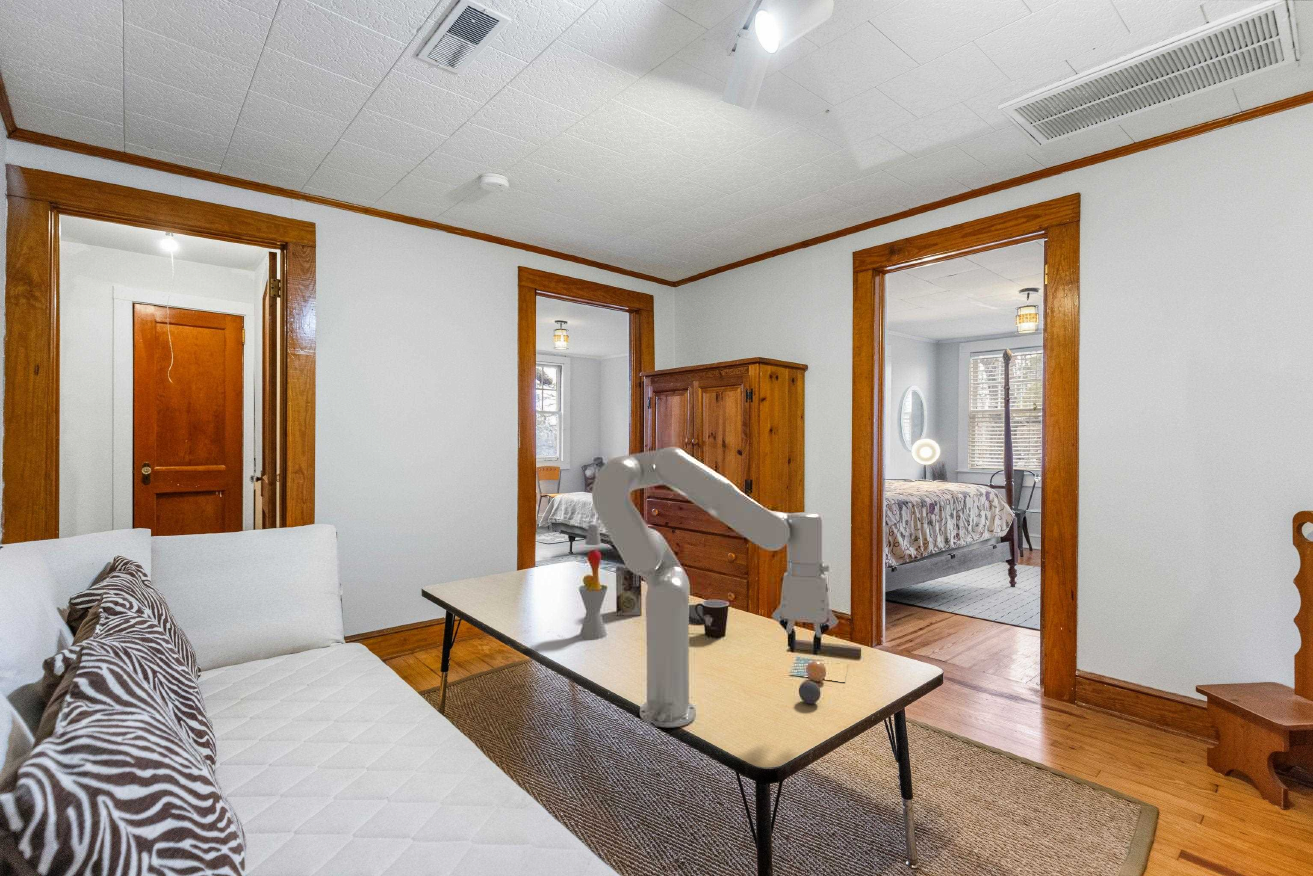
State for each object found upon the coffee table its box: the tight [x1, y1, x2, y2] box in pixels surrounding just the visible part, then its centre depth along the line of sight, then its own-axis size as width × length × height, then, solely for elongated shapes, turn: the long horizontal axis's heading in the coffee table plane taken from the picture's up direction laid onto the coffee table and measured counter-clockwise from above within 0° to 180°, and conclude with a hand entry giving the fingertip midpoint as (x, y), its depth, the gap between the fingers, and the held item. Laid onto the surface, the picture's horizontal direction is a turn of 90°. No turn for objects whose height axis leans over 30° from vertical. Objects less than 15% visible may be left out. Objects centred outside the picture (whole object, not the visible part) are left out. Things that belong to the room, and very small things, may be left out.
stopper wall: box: [788, 638, 862, 658], centre depth 177 cm, size 2×20×2 cm, turn 69°
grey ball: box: [798, 680, 821, 705], centre depth 144 cm, size 5×5×5 cm
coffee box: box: [615, 565, 643, 616], centre depth 217 cm, size 9×6×16 cm
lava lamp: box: [578, 523, 608, 640], centre depth 193 cm, size 9×9×35 cm
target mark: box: [789, 656, 839, 678], centre depth 164 cm, size 14×14×1 cm
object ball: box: [806, 661, 826, 682], centre depth 157 cm, size 5×5×5 cm
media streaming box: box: [689, 604, 704, 625], centre depth 213 cm, size 15×15×3 cm
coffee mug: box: [695, 599, 730, 639], centre depth 195 cm, size 12×9×10 cm
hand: (804, 650), depth 135 cm, fingers open, 4 cm apart
